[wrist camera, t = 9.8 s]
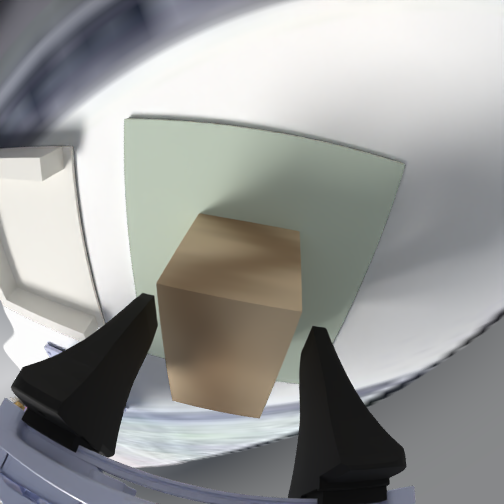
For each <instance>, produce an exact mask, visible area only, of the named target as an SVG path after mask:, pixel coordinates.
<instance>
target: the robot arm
mask: <svg viewBox="0 0 504 504" xmlns="http://www.w3.org/2000/svg"><path fill="white" fill-rule="evenodd" d="M157 327H158V321H157V313H156V305H155V297H154V295H150V294H146V293H141V294H140V295H139V296H138V297H137V298H136V299H134V300H133V301H132V302H131V303H130V304H129V305H128V306H126V307H125V308H124V309H123V310H122V311H121V312H119V313H118V314H117V315H116V316H115V317H113V318H112V319H111V320H110V321H109V322H107V323H106V324H105V325H103V326H102V327H101V328H100V329H98V330H97V331H96V332H94V333H93V334H91V335H90V336H89V337H87V338H86V339H84V340H82V341H81V342H79V343H78V344H76V345H74V346H72V347H71V348H69V349H67V350H65V351H60V350H58V349H56V348H54V347H52V346H50V345H47V344H46V345H45V346H44V348H45V350H46V352H47V353H48V355H49V357H50V358H48V359H45V360H43V361H40V362H37V363H34V364H31V365H28V366H25V367H23V368H22V369H21V371H20V373H19V374H18V376H17V377H16V379H15V381H14V383H13V384H12V386H11V388H12V391H13V392H14V394H15V395H16V396H17V397H18V398H19V399H20V400H21V401H22V403H23V404H24V405H25V406H26V407H27V409H26V411H24V410H22V409H21V408H20V407H18V406H17V405H15V404H14V403H13V402H11V401H10V400H8V399H7V398H5V399H4V401H3V402H2V404H1V406H0V501H1V502H2V504H157V503H154V502H151V501H147V500H144V499H141V498H138V497H135V495H136V490H135V489H133V488H131V487H129V486H127V485H125V484H124V483H123V482H121V481H118V480H116V479H114V478H112V477H110V476H108V475H105V474H103V472H102V471H104V472H107V473H109V474H112V475H114V476H116V477H119V478H121V479H124V480H127V481H129V482H132V483H135V484H138V485H141V486H144V487H147V488H150V489H153V490H156V491H160V492H163V493H166V494H170V495H174V496H177V497H182V498H186V499H190V500H194V501H199V502H203V503H208V504H415V490H414V486H408V487H403V488H397V489H392V490H388V491H387V489H386V486H388V485H389V478H390V477H392V476H394V475H396V474H398V473H400V472H401V471H403V470H404V469H405V468H406V458H405V452H404V449H403V447H402V446H401V445H400V444H398V443H397V442H396V441H395V440H394V439H393V438H392V437H391V436H390V435H389V434H388V433H387V432H386V431H385V430H384V429H383V428H382V427H381V426H380V424H379V423H378V422H377V420H376V419H375V418H374V417H373V415H372V414H371V413H370V412H369V410H368V409H367V407H366V406H365V405H364V403H363V402H362V400H361V399H360V397H359V395H358V394H357V392H356V391H355V389H354V387H353V385H352V384H351V382H350V380H349V378H348V376H347V374H346V372H345V370H344V368H343V366H342V364H341V362H340V360H339V358H338V356H337V353H336V351H335V349H334V346H333V344H332V341H331V339H330V336H329V334H328V331H327V329H326V328H325V327H317V326H312V328H311V331H310V333H309V335H308V338H307V340H306V342H305V345H304V347H303V349H302V352H301V356H300V368H299V390H300V426H299V436H298V444H297V452H296V458H295V465H294V471H293V476H292V481H291V486H290V490H289V494H288V498H276V497H263V496H254V495H245V494H237V493H230V492H225V491H219V490H213V489H208V488H203V487H198V486H194V485H190V484H186V483H182V482H177V481H174V480H170V479H166V478H163V477H160V476H156V475H153V474H150V473H147V472H144V471H141V470H138V469H135V468H132V467H130V466H127V465H124V464H122V463H119V462H117V461H114V460H112V459H109V458H107V457H111V456H113V455H114V454H115V448H116V442H117V437H118V432H119V428H120V424H121V420H122V416H123V413H125V412H126V408H125V406H126V402H127V399H128V396H129V393H130V390H131V387H132V385H133V382H134V380H135V378H136V376H137V374H138V372H139V369H140V367H141V365H142V363H143V361H144V359H145V357H146V355H147V353H148V351H149V349H150V347H151V345H152V342H153V339H154V336H155V333H156V330H157ZM102 455H103V456H102ZM104 456H105V457H104Z"/></svg>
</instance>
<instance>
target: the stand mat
mask: <svg viewBox="0 0 504 504" xmlns="http://www.w3.org/2000/svg"><path fill="white" fill-rule="evenodd" d="M404 168H405V165H404V164H403V163H401V162H398V161H394V160H391V159H388V158H385V157H381V156H378V155H374V154H371V153H367V152H364V151H360V150H356V149H352V148H349V147H345V146H341V145H337V144H332V143H328V142H324V141H319V140H315V139H310V138H305V137H300V136H295V135H290V134H285V133H279V132H273V131H267V130H261V129H255V128H248V127H241V126H233V125H225V124H216V123H206V122H195V121H182V120H166V119H141V118H127V119H124V175H125V197H126V212H127V225H128V236H129V245H130V254H131V262H132V270H133V277H134V284H135V290H136V297H138V296H139V295H140V294H141V293H146V294H150V295H154V297H155V305H156V313H157V321H158V327H157V330H156V333H155V336H154V339H153V342H152V345H151V347H150V349H149V351H148V354H150V355H153V356H157V357H160V358H164V359H165V354H164V347H163V340H162V333H161V325H160V316H159V307H158V297H157V287H156V283H157V281H158V279H159V278H160V276H161V274H162V273H163V271H164V269H165V268H166V266H167V264H168V263H169V261H170V259H171V258H172V256H173V254H174V253H175V251H176V249H177V248H178V246H179V244H180V243H181V241H182V240H183V238H184V236H185V235H186V233H187V232H188V230H189V228H190V227H191V225H192V224H193V222H194V221H195V219H196V217H197V216H198V214H199V213H201V214H207V215H212V216H218V217H224V218H230V219H236V220H241V221H247V222H252V223H258V224H263V225H269V226H274V227H280V228H285V229H290V230H295V231H300V252H301V281H302V314H301V316H300V319H299V322H298V325H297V327H296V330H295V333H294V335H293V338H292V341H291V343H290V346H289V348H288V351H287V354H286V356H285V359H284V361H283V364H282V366H281V369H280V371H279V374H278V376H277V379H276V381H278V382H286V383H294V384H299V368H300V356H301V352H302V349H303V347H304V345H305V342H306V340H307V338H308V335H309V333H310V331H311V328H312V326H317V327H325V328H326V329H327V331H328V334H329V336H330V339H331V341H332V343H333V342H334V340H335V338H336V336H337V334H338V332H339V330H340V328H341V326H342V324H343V322H344V320H345V318H346V316H347V314H348V312H349V309H350V307H351V305H352V303H353V301H354V299H355V297H356V294H357V292H358V290H359V288H360V286H361V283H362V281H363V279H364V277H365V274H366V272H367V270H368V267H369V265H370V262H371V260H372V258H373V255H374V253H375V250H376V248H377V245H378V243H379V240H380V238H381V235H382V232H383V230H384V227H385V224H386V222H387V219H388V216H389V213H390V211H391V208H392V205H393V202H394V199H395V196H396V193H397V190H398V187H399V184H400V181H401V178H402V174H403V171H404Z"/></svg>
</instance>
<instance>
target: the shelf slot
mask: <svg viewBox="0 0 504 504" xmlns="http://www.w3.org/2000/svg"><path fill="white" fill-rule="evenodd" d="M0 300H1V302H2V304H3V306H4V307H6V308H8V309H10V310H12V311H14V312H16V313H18V314H20V315H22V316H24V317H26V318H28V319H30V320H32V321H34V322H36V323H38V324H41V325H43V326H45V327H47V328H49V329H52V330H54V331H56V332H59V333H61V334H63V335H66V336H68V337H71V338H73V339H76V340H78V341H82V340H84V339H86V338H87V337H89V336H90V335H91V334H93V333H94V332H96V330H97V329H98V327H100V328H101V327H102V326H103V325H105V322H104V318H103V315H102V312H101V308H100V305H99V301H98V298H97V294H96V290H95V286H94V282H93V278H92V274H91V270H90V265H89V261H88V256H87V251H86V246H85V241H84V236H83V230H82V224H81V218H80V212H79V205H78V197H77V189H76V179H75V169H74V155H73V146H38V147H15V148H1V149H0Z"/></svg>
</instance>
